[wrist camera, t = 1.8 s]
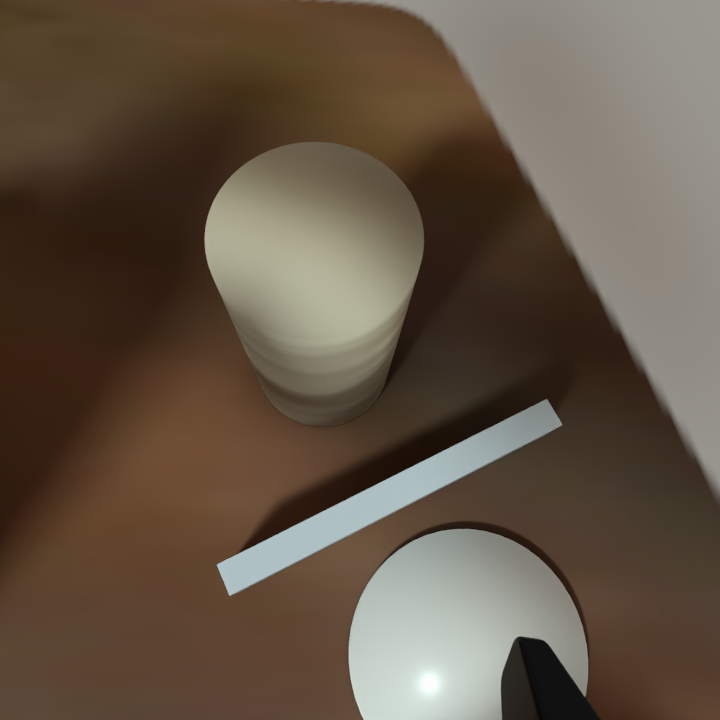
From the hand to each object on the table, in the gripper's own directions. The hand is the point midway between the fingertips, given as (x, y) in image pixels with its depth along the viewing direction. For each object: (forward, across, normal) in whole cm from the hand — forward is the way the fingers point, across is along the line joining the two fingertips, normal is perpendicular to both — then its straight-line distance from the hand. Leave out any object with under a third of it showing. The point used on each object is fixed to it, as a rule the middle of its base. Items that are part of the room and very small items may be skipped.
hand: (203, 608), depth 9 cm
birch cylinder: (+15, 0, +4) cm, 15 cm away
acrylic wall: (+11, -3, +7) cm, 14 cm away
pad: (+8, -7, +10) cm, 15 cm away
